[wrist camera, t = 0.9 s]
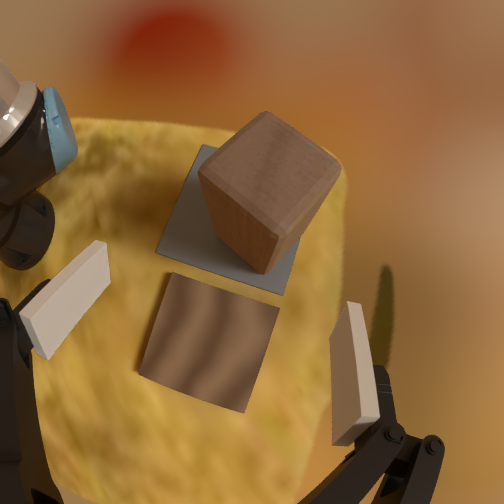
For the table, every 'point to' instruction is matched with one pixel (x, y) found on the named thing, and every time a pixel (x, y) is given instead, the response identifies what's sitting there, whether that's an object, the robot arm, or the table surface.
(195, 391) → the walnut board
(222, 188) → the wooden block
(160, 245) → the gray tile
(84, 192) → the table surface
